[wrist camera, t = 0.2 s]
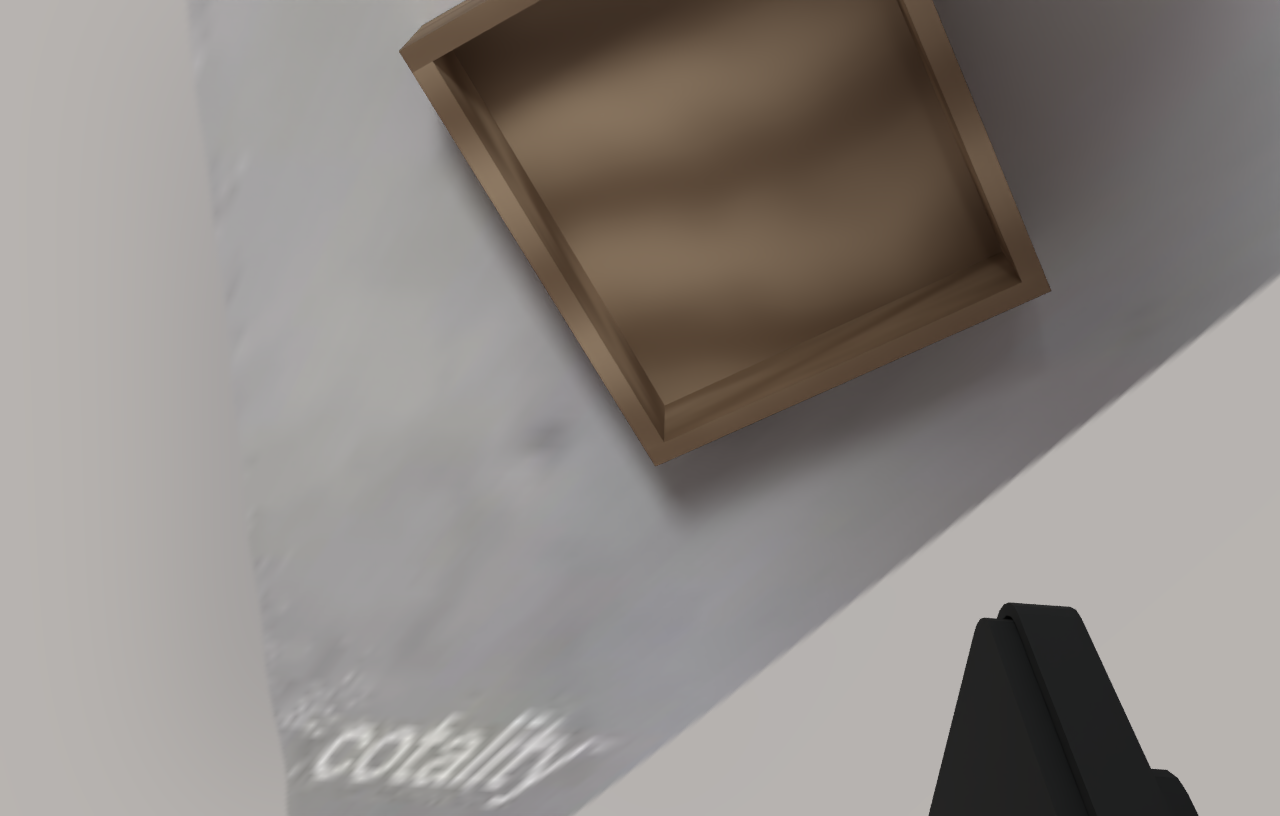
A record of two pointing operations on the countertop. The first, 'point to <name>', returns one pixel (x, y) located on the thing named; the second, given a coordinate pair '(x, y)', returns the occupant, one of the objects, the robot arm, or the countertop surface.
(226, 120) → the countertop surface
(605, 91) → the holder tray
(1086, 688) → the robot arm
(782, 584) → the countertop surface
